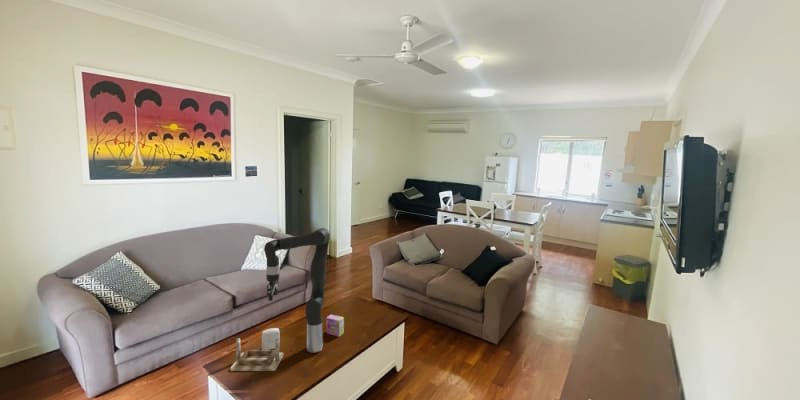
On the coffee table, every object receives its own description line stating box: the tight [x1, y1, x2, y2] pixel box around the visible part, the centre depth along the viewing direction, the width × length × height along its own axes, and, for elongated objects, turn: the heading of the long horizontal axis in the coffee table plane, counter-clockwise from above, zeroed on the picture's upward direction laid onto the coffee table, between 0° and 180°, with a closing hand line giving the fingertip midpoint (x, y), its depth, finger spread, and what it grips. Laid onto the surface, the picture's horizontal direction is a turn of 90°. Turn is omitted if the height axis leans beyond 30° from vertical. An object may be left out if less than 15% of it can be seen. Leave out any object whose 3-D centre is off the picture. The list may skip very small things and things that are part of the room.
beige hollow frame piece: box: [230, 337, 284, 372], centre depth 185 cm, size 24×15×14 cm, turn 93°
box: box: [325, 314, 345, 338], centre depth 219 cm, size 10×6×12 cm, turn 68°
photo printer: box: [261, 327, 281, 350], centre depth 200 cm, size 10×4×12 cm, turn 116°
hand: (273, 297), depth 202 cm, fingers open, 8 cm apart
